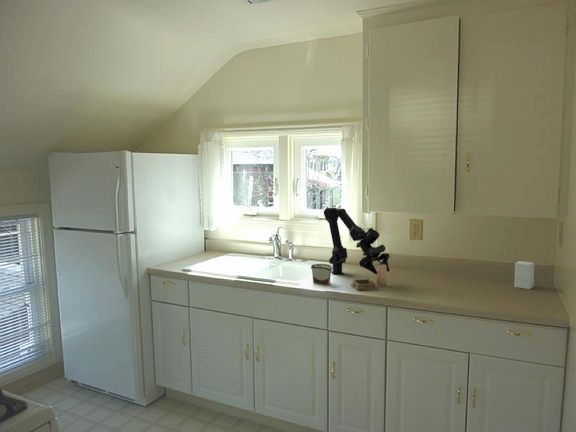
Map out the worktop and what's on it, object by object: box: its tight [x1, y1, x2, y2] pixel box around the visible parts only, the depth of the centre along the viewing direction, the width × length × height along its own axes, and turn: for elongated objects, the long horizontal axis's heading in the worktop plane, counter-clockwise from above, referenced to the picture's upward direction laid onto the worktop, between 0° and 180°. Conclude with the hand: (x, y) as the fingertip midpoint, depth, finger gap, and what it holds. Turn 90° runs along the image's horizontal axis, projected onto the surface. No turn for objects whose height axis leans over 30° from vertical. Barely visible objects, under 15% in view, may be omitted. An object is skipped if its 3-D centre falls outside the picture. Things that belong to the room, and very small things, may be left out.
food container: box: [310, 263, 333, 286], centre depth 237 cm, size 12×6×10 cm, turn 56°
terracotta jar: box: [376, 263, 387, 288], centre depth 231 cm, size 5×5×11 cm
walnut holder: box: [350, 278, 379, 292], centre depth 228 cm, size 11×11×3 cm
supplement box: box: [513, 260, 535, 290], centre depth 225 cm, size 7×7×13 cm
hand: (383, 272), depth 230 cm, fingers open, 9 cm apart
